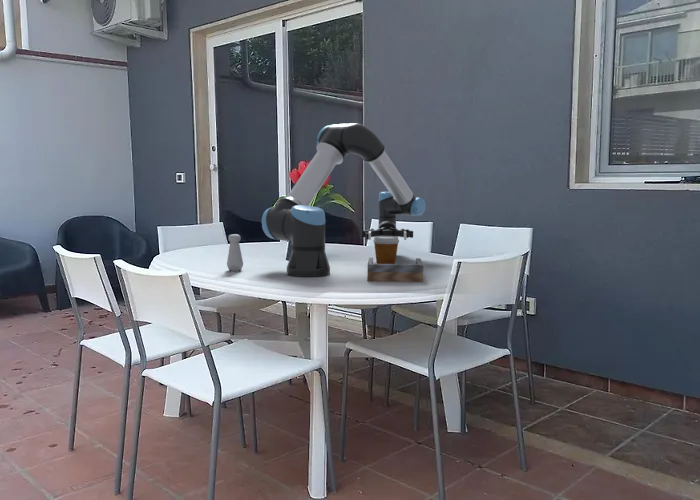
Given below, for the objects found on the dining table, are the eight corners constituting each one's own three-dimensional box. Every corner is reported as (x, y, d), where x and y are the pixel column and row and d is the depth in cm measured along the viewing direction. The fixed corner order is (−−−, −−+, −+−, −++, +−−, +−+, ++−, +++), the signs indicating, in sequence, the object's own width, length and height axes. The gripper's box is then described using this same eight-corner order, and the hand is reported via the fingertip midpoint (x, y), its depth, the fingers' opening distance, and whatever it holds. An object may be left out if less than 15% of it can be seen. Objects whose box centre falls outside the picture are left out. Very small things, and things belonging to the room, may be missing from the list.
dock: (367, 281, 196) (367, 264, 195) (368, 273, 212) (368, 257, 211) (422, 282, 195) (423, 265, 194) (420, 273, 211) (420, 258, 210)
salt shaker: (246, 269, 217) (246, 234, 215) (237, 272, 212) (236, 235, 210) (233, 268, 219) (232, 233, 218) (223, 271, 214) (222, 234, 212)
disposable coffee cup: (397, 272, 214) (397, 238, 212) (370, 271, 216) (371, 238, 214) (400, 268, 223) (400, 236, 221) (375, 267, 225) (375, 235, 223)
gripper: (417, 239, 249) (420, 246, 228) (357, 239, 251) (354, 246, 230) (417, 221, 248) (420, 226, 227) (357, 221, 249) (354, 226, 228)
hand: (387, 236), depth 228 cm, fingers open, 13 cm apart
